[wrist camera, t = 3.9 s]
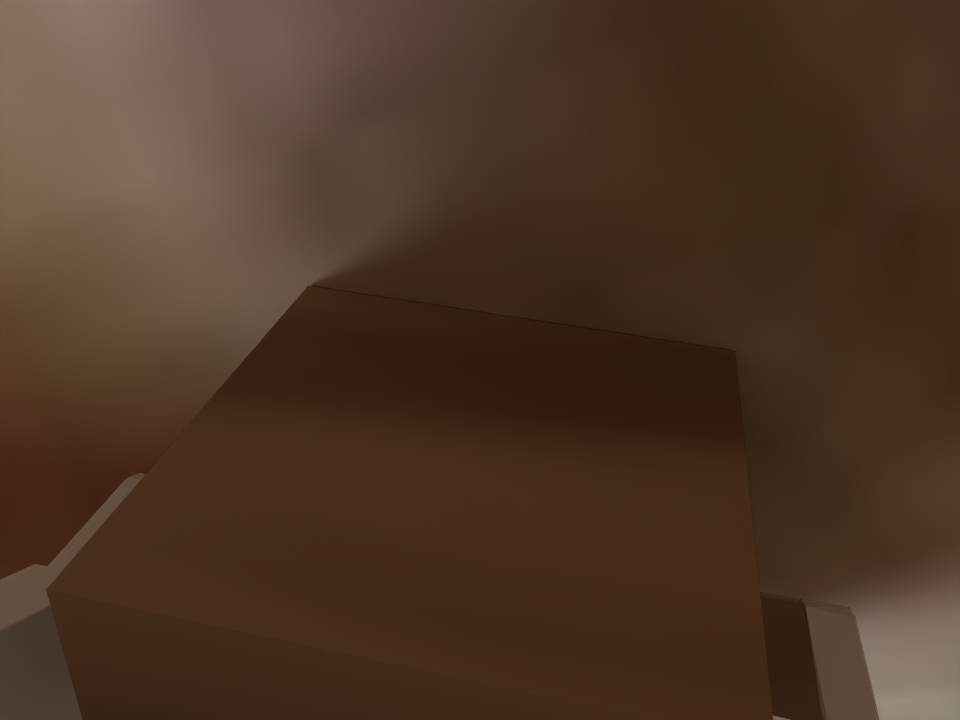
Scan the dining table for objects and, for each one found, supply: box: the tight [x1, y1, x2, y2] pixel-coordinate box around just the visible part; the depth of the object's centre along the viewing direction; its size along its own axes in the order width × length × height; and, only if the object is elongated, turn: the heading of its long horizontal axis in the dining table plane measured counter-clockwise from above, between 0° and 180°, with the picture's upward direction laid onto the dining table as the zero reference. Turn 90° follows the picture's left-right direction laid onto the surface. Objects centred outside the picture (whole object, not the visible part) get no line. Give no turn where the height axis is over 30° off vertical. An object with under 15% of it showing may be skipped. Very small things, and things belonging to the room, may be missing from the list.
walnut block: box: [46, 286, 773, 720], centre depth 9 cm, size 5×5×5 cm
